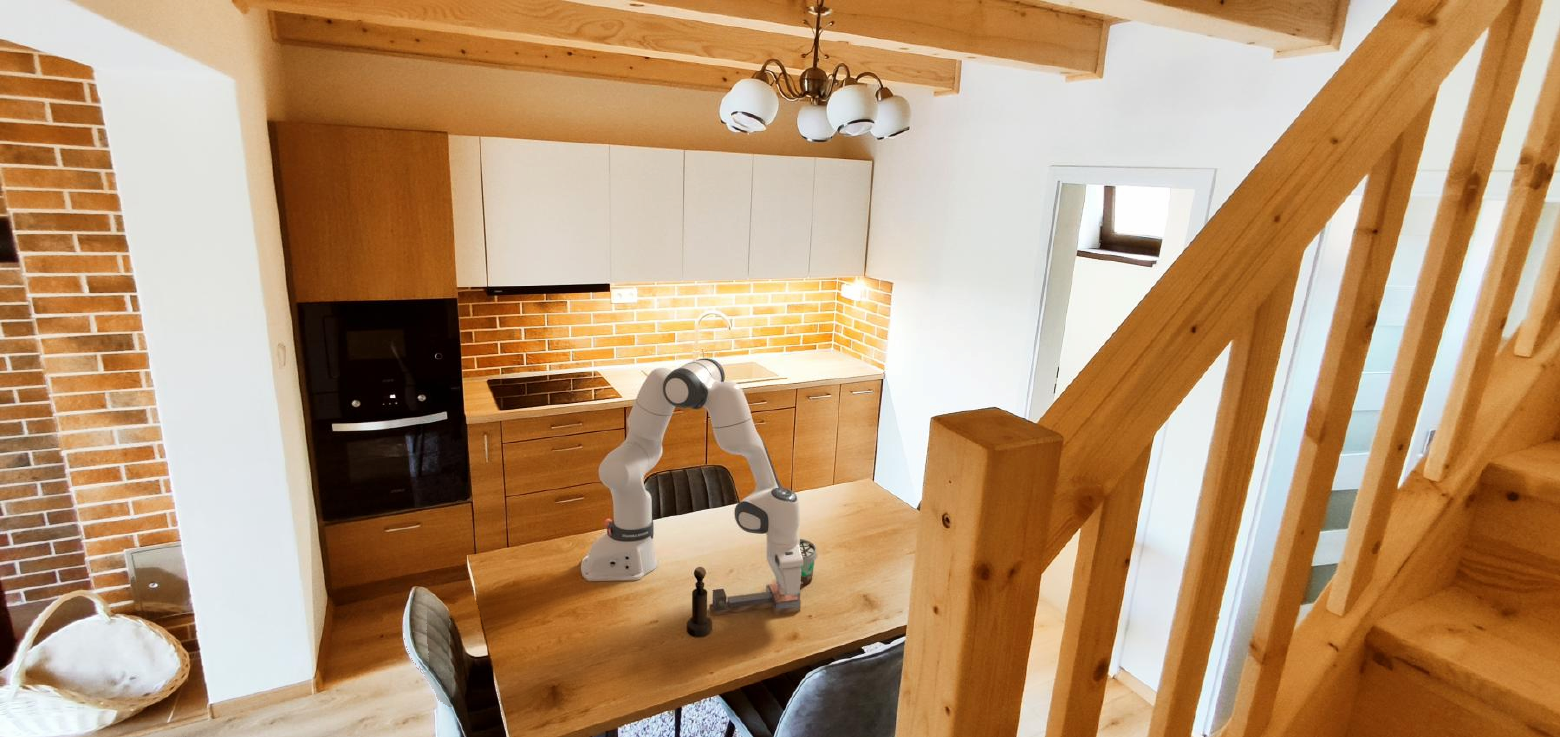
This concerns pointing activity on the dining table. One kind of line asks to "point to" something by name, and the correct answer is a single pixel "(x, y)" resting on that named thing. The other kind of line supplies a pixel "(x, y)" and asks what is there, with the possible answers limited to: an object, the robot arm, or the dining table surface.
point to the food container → (807, 561)
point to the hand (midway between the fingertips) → (781, 592)
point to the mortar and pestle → (699, 608)
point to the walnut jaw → (722, 606)
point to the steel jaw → (766, 599)
